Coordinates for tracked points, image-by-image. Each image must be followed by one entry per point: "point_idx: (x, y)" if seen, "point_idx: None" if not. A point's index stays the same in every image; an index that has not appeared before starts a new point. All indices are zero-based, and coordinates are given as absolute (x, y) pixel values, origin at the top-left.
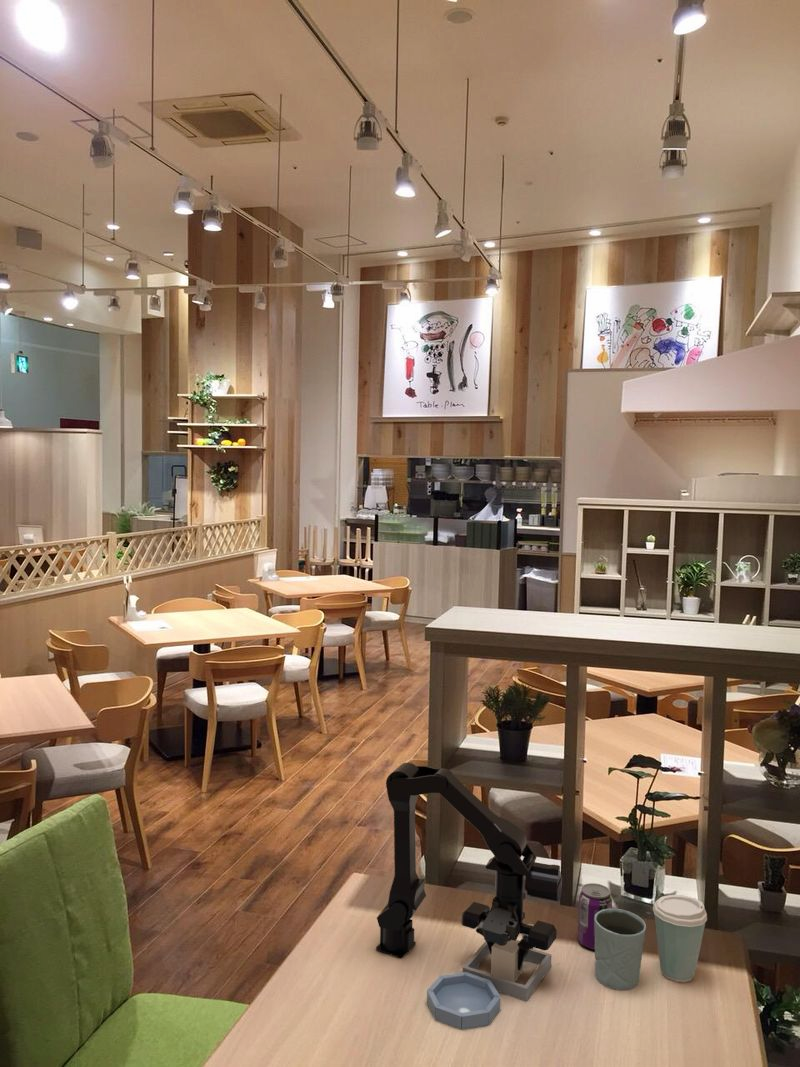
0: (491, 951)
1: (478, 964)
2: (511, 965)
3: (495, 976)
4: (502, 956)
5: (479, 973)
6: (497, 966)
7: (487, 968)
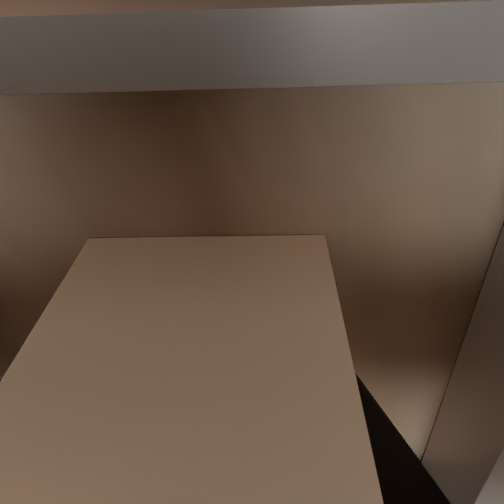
0: (393, 460)
1: (482, 303)
2: (56, 362)
3: (143, 70)
4: (174, 441)
5: (440, 1)
6: (258, 307)
7: (388, 298)
